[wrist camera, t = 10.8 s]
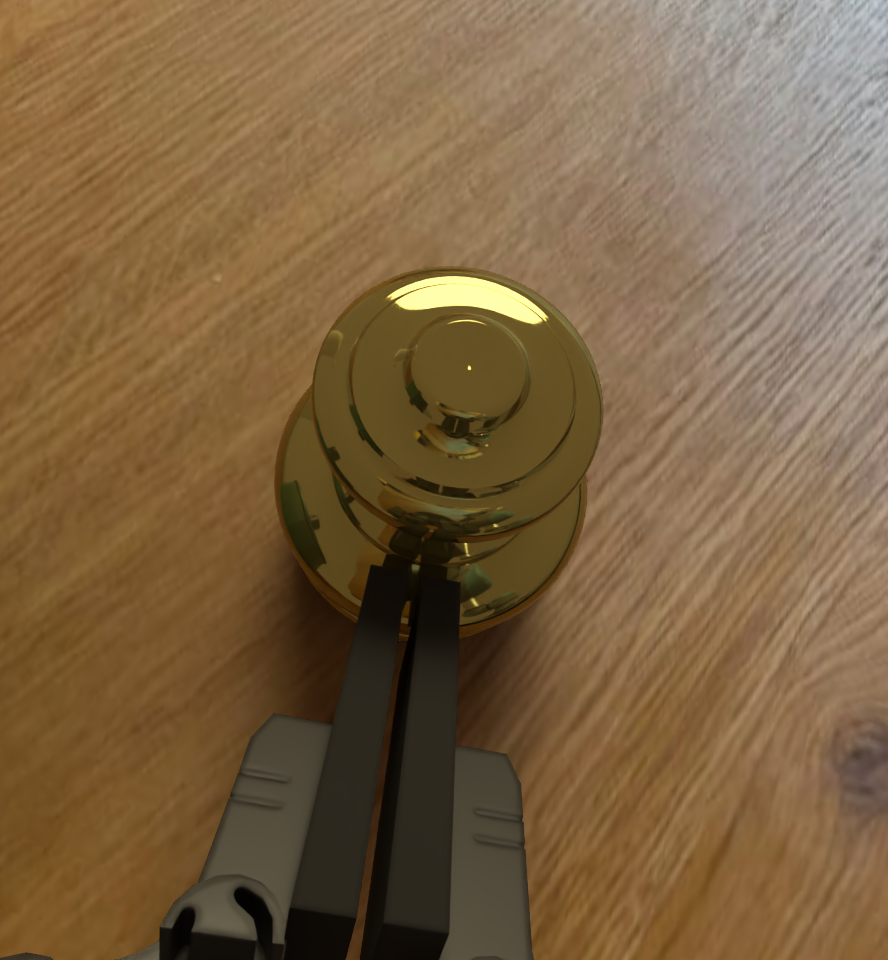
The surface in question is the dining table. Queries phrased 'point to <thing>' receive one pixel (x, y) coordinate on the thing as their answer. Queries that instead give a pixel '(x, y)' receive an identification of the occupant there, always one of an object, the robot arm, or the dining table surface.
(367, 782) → the robot arm
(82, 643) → the dining table surface
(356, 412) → the brass calibration weight
